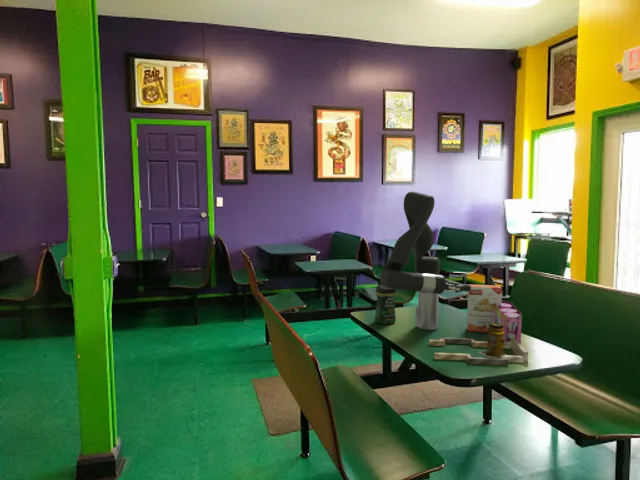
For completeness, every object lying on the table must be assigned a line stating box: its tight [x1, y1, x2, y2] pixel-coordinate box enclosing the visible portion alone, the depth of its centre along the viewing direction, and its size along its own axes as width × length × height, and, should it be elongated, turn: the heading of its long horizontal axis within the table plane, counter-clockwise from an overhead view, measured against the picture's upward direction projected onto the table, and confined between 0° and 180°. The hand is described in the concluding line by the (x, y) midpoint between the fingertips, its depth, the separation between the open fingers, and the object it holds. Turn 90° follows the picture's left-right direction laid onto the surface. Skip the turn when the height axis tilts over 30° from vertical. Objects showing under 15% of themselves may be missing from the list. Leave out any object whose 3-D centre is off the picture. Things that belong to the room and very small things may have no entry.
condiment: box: [478, 323, 508, 358], centre depth 173 cm, size 7×8×12 cm
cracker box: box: [466, 283, 503, 333], centre depth 203 cm, size 14×6×21 cm, turn 77°
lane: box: [428, 336, 529, 366], centre depth 175 cm, size 34×24×4 cm
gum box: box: [494, 301, 523, 345], centre depth 192 cm, size 24×8×14 cm, turn 167°
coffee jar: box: [374, 284, 397, 325], centre depth 217 cm, size 10×8×19 cm
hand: (469, 287), depth 179 cm, fingers closed
